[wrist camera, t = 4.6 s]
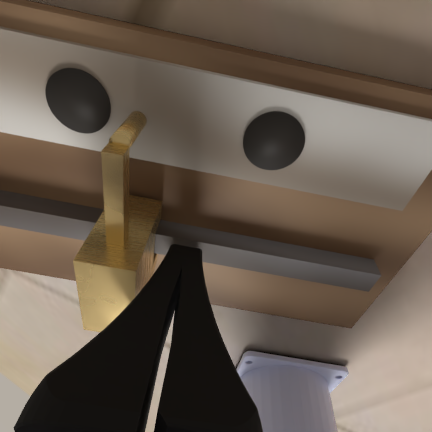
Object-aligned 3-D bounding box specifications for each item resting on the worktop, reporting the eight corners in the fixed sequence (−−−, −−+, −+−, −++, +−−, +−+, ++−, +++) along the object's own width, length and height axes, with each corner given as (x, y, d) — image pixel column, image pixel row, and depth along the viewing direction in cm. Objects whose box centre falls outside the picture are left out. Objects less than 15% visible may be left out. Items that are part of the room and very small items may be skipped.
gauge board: (345, 311, 19) (374, 401, 15) (-48, 241, 18) (-135, 320, 14) (502, 104, 11) (653, 176, 7) (-188, -48, 10) (-498, -69, 6)
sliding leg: (157, 262, 15) (133, 337, 12) (117, 255, 15) (83, 329, 12) (170, 112, 11) (138, 168, 7) (113, 100, 11) (56, 152, 7)
